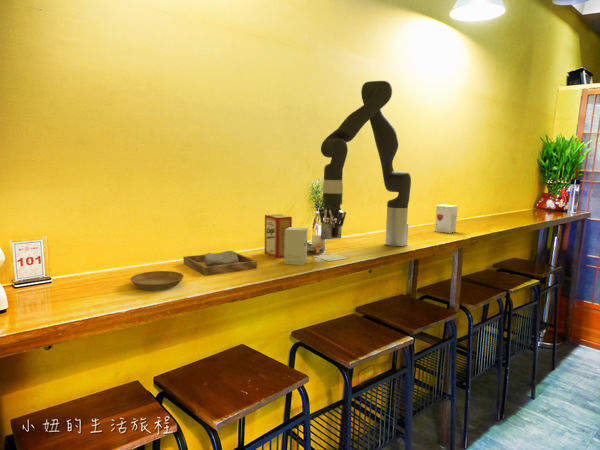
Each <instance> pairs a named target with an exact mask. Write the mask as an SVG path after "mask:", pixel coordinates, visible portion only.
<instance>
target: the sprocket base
mask: <svg viewBox="0 0 600 450" xmlns="http://www.w3.org/2000/svg"><path fill="white" fill-rule="evenodd" d="M324 252H325V250H321V251H320V252H319V253H315V252H312V253H308V252H307V255H322V254H324Z"/></svg>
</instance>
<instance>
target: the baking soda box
mask: <svg viewBox="0 0 600 450" xmlns="http://www.w3.org/2000/svg"><path fill="white" fill-rule="evenodd" d="M292 218H293V217H292V216H291V215H290V216H289V215H285V214H282V213H280V214H279V213H278V214H277V213H275V214H264V255H267V256H269V257H272V258H274V259H281V258H283V259H284V241H285V230H286V229H287V228H289V227H293V226H292V221H293V219H292Z"/></svg>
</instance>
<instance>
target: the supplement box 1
mask: <svg viewBox="0 0 600 450" xmlns="http://www.w3.org/2000/svg"><path fill="white" fill-rule="evenodd" d="M308 230H309V229H308V227H295V226H292V227H289V228H287V229H286V230H285V241H284V258H283V265H284V264H285V265H296V266H303V265H304V264H305V263H306V262H307V261H308V260H307V258H308V254H307V242H308V233H309V232H308Z"/></svg>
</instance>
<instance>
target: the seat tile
mask: <svg viewBox="0 0 600 450" xmlns="http://www.w3.org/2000/svg"><path fill="white" fill-rule="evenodd" d="M312 257H313V258H316V259H320V260H322V261H326V262H334V261H340V260H347V259H348V260H349V257H348V256H347V257H346V256H344V255H339V254H336V253H333V252H332V253H322V254H315V255H312Z"/></svg>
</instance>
